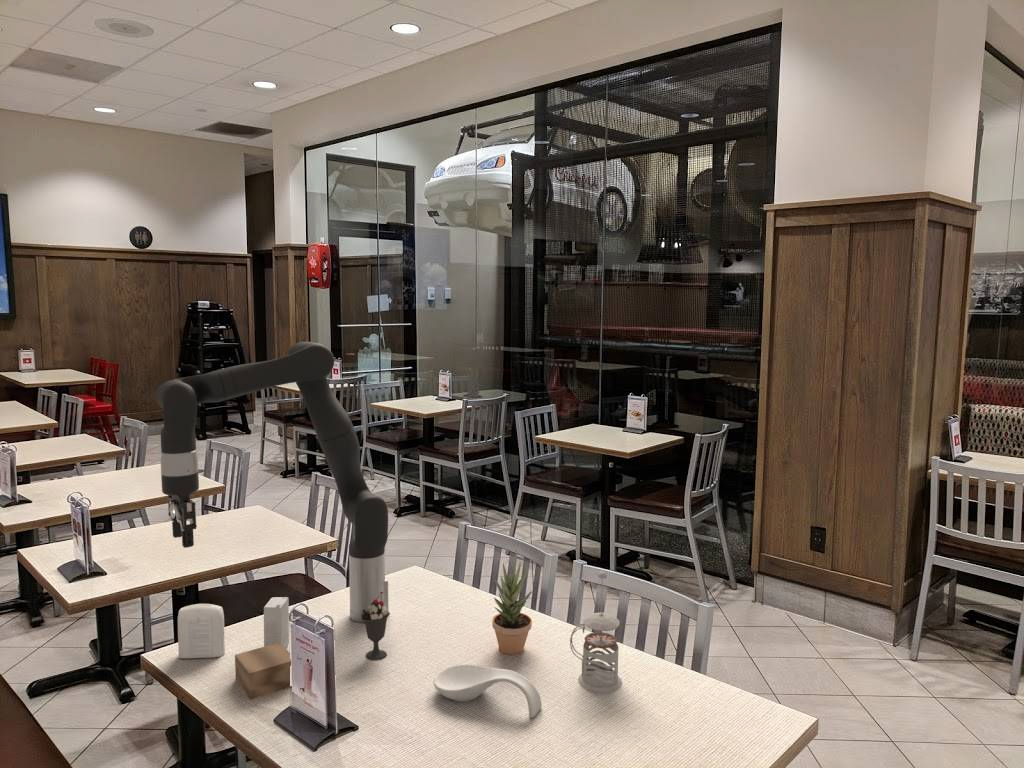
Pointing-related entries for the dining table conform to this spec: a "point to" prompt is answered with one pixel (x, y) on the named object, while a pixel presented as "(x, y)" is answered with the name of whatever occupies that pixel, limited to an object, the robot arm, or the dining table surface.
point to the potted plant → (511, 614)
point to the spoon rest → (482, 683)
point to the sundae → (375, 627)
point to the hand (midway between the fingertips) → (183, 541)
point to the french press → (597, 672)
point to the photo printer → (201, 631)
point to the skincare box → (276, 621)
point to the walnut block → (263, 670)
